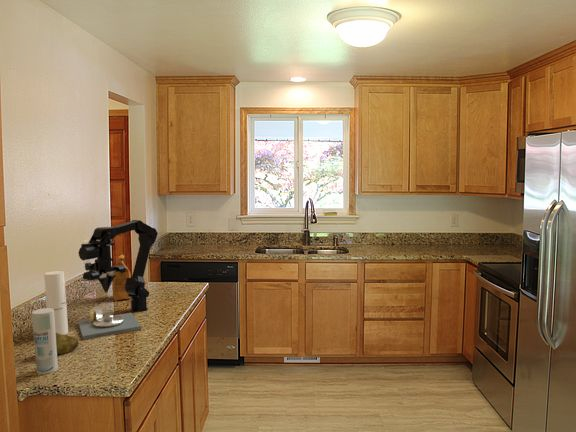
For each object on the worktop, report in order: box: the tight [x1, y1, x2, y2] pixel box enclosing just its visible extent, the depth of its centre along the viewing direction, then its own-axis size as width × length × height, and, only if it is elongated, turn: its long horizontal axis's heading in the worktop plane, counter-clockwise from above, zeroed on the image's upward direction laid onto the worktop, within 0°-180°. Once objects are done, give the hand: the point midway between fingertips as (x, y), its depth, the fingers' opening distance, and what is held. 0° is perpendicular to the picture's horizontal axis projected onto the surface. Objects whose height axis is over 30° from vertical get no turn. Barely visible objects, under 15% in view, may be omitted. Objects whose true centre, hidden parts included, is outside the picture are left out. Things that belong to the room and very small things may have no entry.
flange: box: [89, 307, 124, 327], centre depth 200 cm, size 12×15×4 cm
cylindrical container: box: [43, 270, 69, 335], centre depth 193 cm, size 7×7×25 cm
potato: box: [55, 332, 79, 355], centre depth 173 cm, size 8×13×8 cm, turn 104°
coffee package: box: [111, 253, 132, 302], centre depth 246 cm, size 10×12×22 cm
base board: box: [77, 311, 142, 341], centre depth 200 cm, size 22×22×6 cm
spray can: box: [31, 307, 59, 375], centre depth 157 cm, size 6×6×20 cm
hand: (106, 291), depth 209 cm, fingers closed
